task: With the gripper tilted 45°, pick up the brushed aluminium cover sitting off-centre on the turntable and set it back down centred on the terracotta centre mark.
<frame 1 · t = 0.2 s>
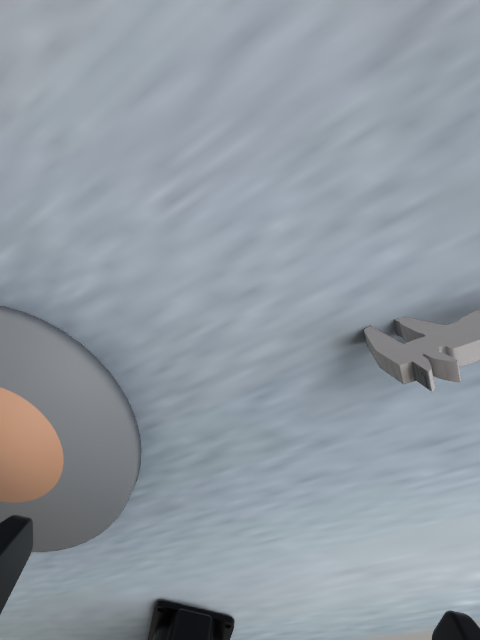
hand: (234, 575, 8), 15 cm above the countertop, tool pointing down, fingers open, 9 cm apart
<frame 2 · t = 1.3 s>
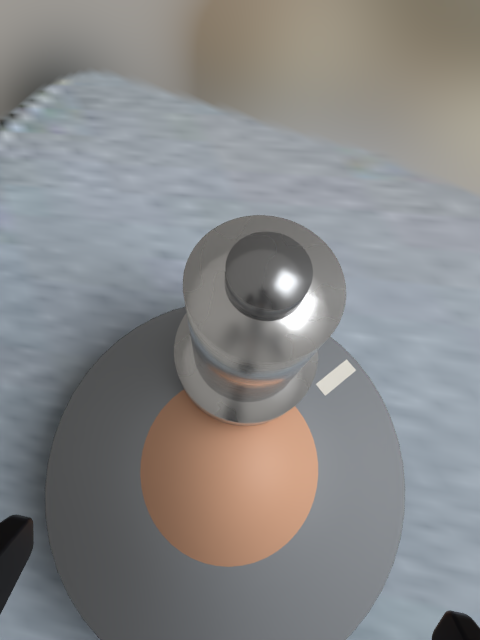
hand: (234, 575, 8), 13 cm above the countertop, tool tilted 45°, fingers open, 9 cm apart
cover: (244, 356, 21), point 2 cm above the countertop, touching turntable
turntable: (230, 463, 20), point 2 cm above the countertop, hinge at 0.0°, touching cover
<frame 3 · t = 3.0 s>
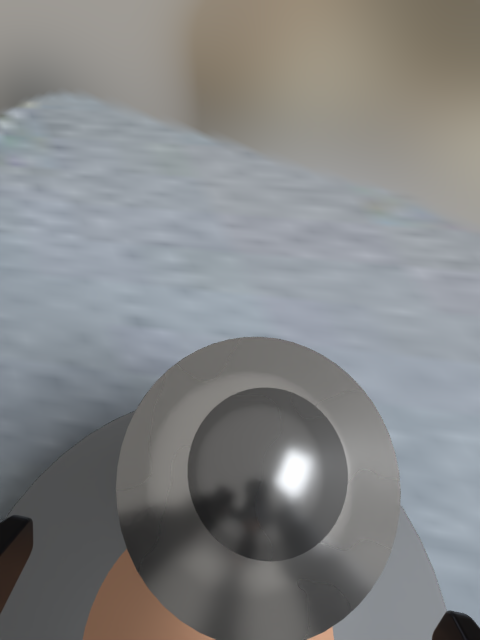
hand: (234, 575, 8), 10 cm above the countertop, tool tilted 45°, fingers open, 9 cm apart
cover: (234, 477, 16), point 2 cm above the countertop, touching turntable
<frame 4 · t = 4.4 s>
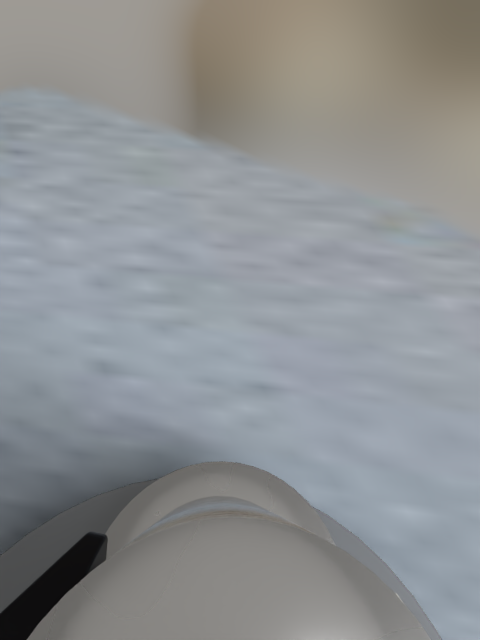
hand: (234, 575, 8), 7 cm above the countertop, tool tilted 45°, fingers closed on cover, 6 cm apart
cover: (217, 591, 12), point 2 cm above the countertop, touching gripper, turntable
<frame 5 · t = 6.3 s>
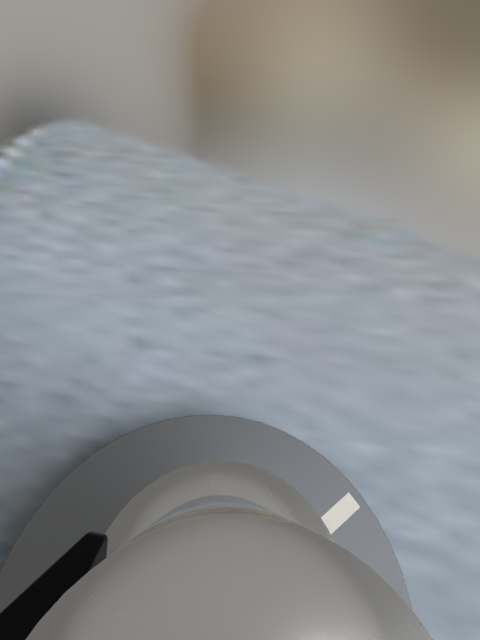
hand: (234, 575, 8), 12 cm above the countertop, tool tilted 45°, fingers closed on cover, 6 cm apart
cover: (217, 590, 12), point 7 cm above the countertop, touching gripper
turntable: (204, 632, 16), point 2 cm above the countertop, hinge at 0.0°
when the fingers open (8 cm above the countertop, at t = 8.1 s): cover drops 1 cm, resting on turntable.
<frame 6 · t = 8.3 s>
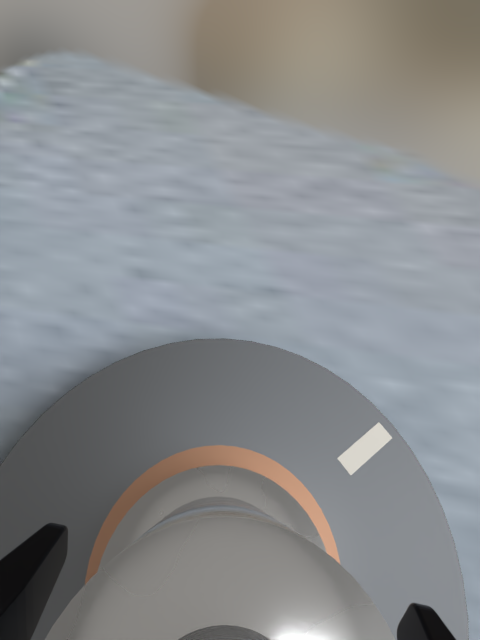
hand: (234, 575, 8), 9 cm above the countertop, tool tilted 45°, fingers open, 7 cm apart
cover: (215, 582, 13), point 2 cm above the countertop, touching turntable
turntable: (216, 575, 14), point 2 cm above the countertop, hinge at 0.0°, touching cover
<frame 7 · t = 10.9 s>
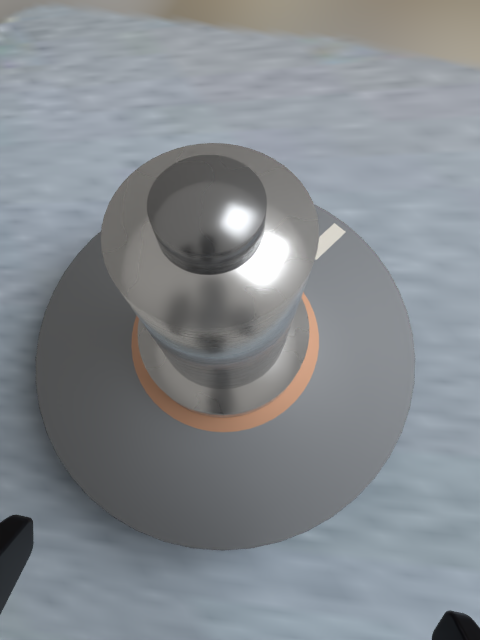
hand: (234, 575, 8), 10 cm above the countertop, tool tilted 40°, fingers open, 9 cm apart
cover: (224, 336, 18), point 2 cm above the countertop, touching turntable
turntable: (225, 338, 19), point 2 cm above the countertop, hinge at 0.0°, touching cover
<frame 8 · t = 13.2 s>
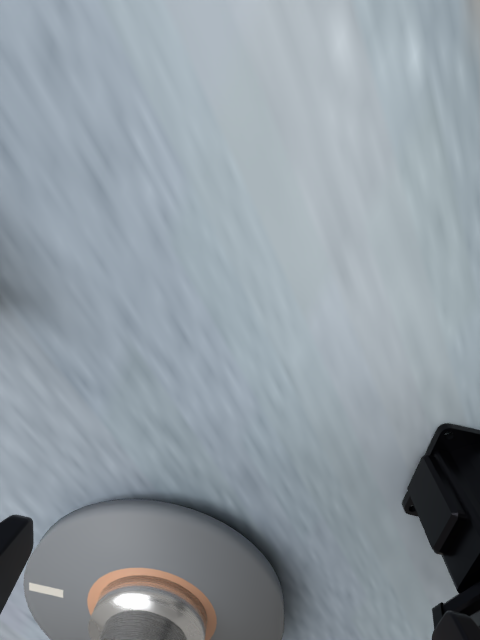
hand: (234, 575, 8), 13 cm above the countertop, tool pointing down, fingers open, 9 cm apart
cover: (152, 613, 26), point 2 cm above the countertop, touching turntable
turntable: (154, 604, 26), point 2 cm above the countertop, hinge at 0.0°, touching cover
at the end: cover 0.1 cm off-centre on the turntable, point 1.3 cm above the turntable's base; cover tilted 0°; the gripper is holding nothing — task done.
